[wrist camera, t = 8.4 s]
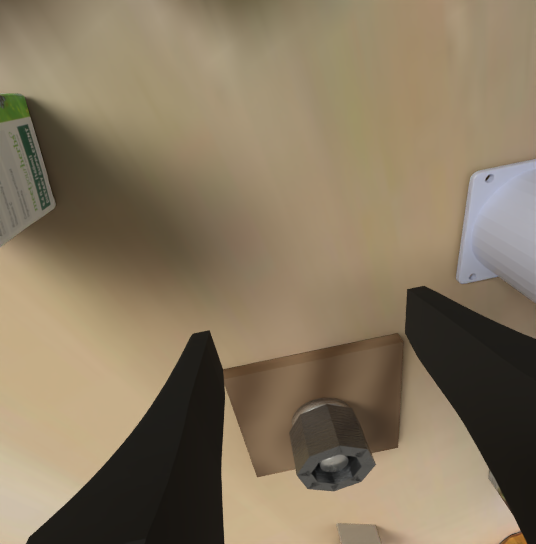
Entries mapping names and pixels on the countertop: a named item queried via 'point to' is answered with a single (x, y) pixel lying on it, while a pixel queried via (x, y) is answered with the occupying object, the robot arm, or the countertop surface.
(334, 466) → the piston post
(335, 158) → the countertop surface
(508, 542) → the pancake mix bag
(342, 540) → the architectural model
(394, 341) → the board
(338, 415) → the ring
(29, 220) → the syrup box
